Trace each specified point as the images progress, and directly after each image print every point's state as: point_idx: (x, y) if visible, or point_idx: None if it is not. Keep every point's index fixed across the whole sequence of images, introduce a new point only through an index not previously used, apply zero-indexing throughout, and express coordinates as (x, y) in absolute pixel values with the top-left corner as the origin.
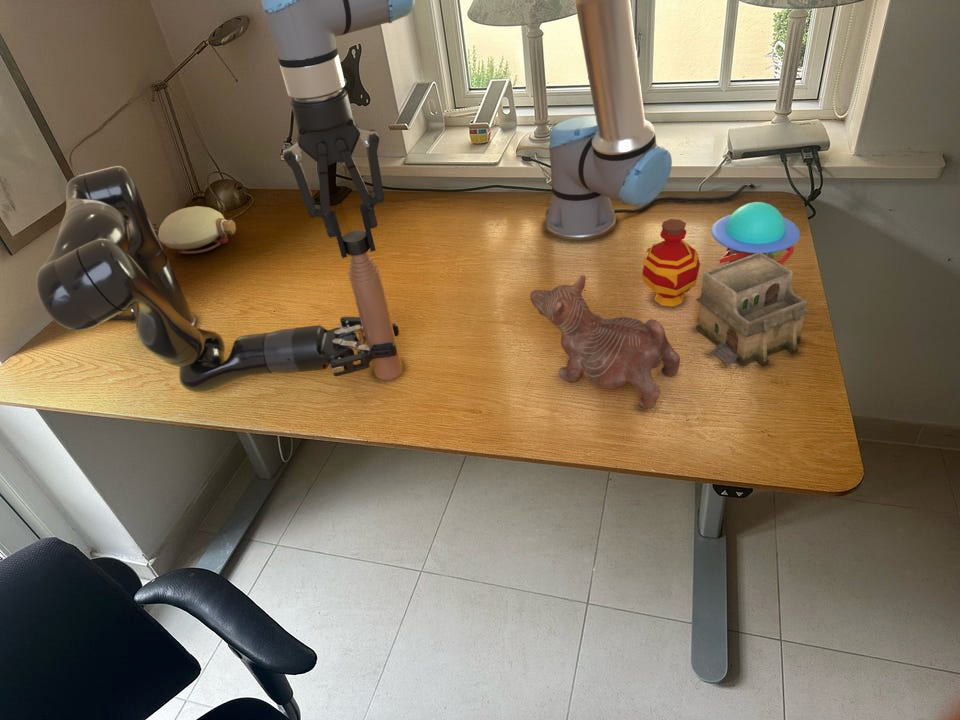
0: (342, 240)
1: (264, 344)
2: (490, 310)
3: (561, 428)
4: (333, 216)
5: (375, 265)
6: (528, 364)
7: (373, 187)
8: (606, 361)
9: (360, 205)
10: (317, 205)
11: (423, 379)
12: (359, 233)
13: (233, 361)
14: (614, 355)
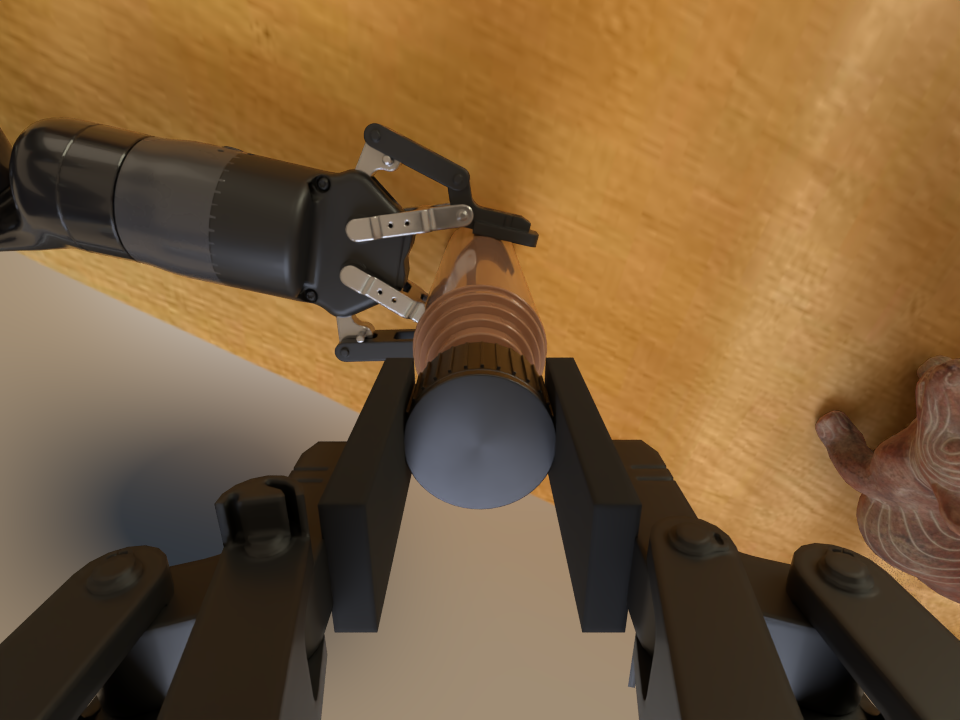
0: (404, 503)
1: (122, 239)
2: (813, 85)
3: (741, 530)
4: (351, 603)
5: (539, 368)
6: (781, 354)
7: (852, 670)
8: (921, 573)
9: (603, 519)
10: (178, 632)
11: (551, 316)
12: (515, 428)
13: (41, 243)
14: (947, 582)
